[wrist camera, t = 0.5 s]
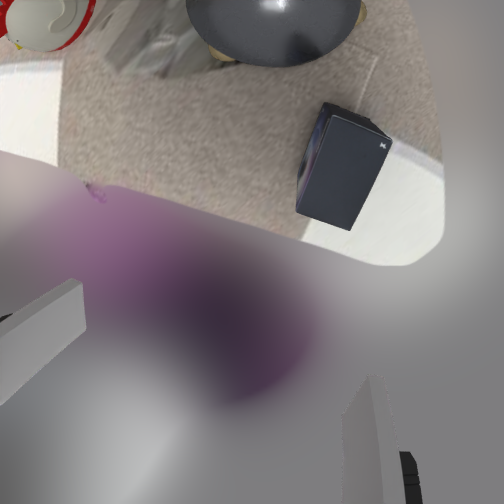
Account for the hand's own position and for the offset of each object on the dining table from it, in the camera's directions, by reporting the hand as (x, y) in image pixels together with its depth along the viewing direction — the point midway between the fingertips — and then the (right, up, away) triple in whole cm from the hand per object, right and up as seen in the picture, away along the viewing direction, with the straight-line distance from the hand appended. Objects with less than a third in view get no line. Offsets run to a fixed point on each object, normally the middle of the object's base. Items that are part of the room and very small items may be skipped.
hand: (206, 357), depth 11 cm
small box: (+12, +17, +22) cm, 30 cm away
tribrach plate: (+4, +33, +12) cm, 35 cm away
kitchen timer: (-27, +40, +12) cm, 50 cm away
